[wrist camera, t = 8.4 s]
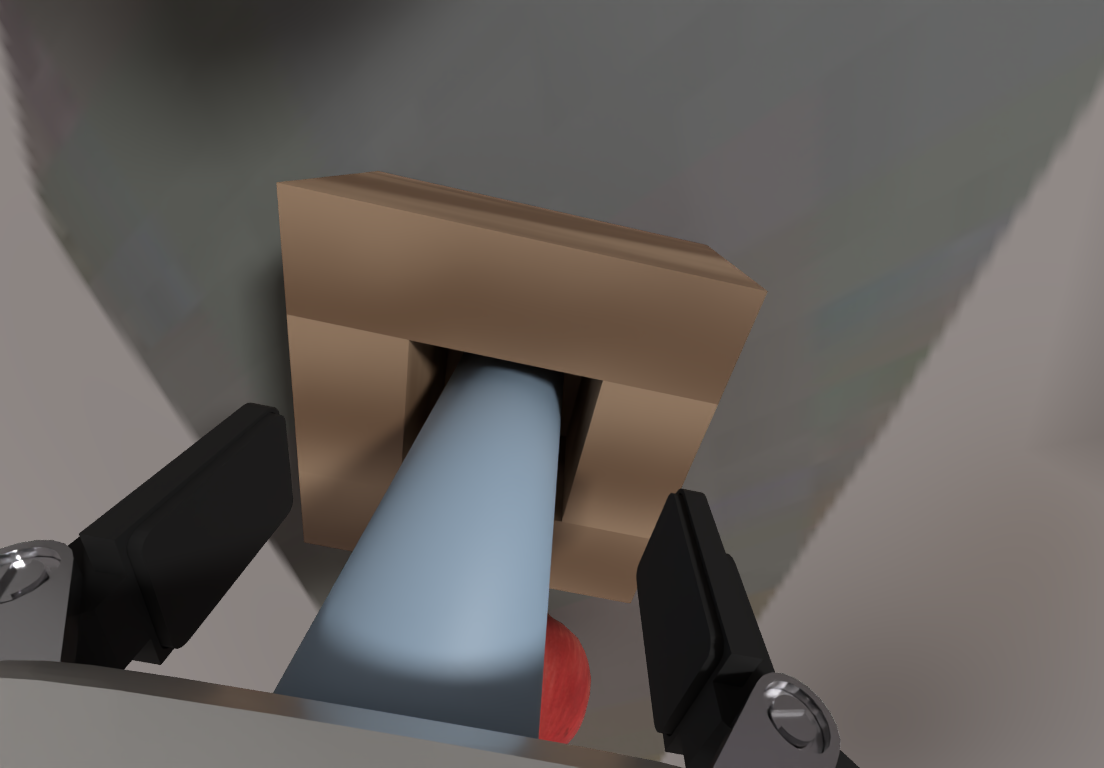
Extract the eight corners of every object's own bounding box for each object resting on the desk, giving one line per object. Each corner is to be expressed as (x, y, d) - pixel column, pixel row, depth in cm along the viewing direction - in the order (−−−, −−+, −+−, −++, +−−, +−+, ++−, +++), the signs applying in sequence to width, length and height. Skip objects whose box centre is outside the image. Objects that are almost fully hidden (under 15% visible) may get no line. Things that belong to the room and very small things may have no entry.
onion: (578, 651, 28) (577, 822, 21) (486, 637, 28) (454, 804, 21) (598, 589, 25) (605, 761, 18) (496, 573, 25) (463, 739, 18)
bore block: (378, 171, 16) (276, 182, 11) (706, 245, 16) (767, 291, 11) (372, 444, 21) (303, 542, 16) (618, 493, 22) (630, 603, 17)
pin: (470, 310, 17) (177, 748, 5) (574, 332, 17) (560, 811, 5) (459, 400, 19) (228, 884, 6) (553, 419, 19) (502, 926, 7)
